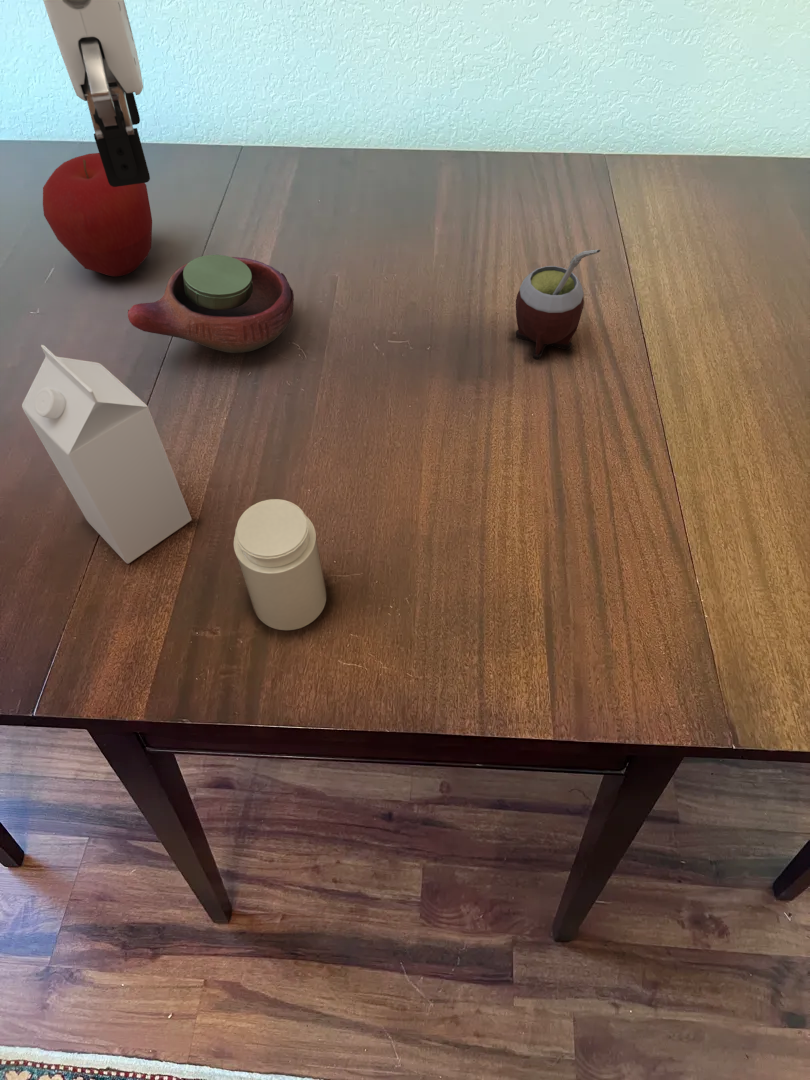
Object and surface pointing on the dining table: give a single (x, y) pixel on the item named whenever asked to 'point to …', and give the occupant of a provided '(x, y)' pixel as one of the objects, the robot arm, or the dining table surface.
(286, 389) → the dining table surface
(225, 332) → the bowl
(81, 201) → the apple
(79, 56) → the robot arm
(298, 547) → the jar
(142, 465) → the milk carton
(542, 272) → the mate gourd
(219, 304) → the jar lid
